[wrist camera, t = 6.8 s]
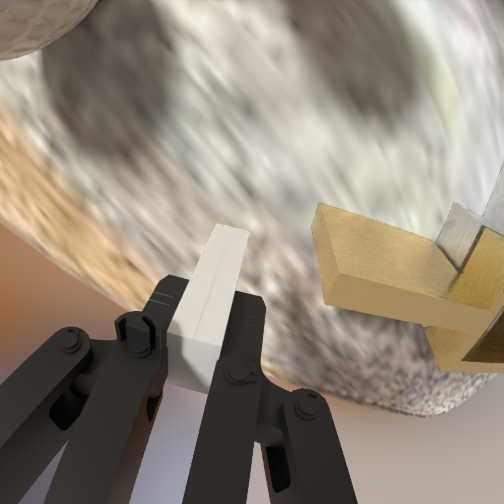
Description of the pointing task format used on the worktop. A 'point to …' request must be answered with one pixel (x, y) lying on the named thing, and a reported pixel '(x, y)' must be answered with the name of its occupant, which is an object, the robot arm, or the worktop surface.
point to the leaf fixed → (471, 230)
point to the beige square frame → (416, 285)
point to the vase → (37, 23)
